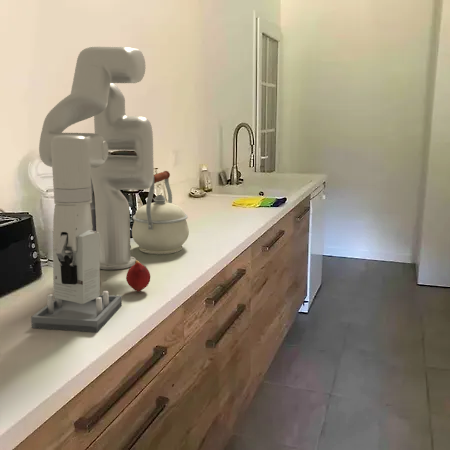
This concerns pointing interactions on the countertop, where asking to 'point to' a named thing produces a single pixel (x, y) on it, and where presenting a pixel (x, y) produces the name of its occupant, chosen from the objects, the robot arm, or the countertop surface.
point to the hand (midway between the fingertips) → (77, 277)
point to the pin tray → (76, 314)
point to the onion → (138, 276)
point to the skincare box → (81, 271)
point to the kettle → (160, 222)
